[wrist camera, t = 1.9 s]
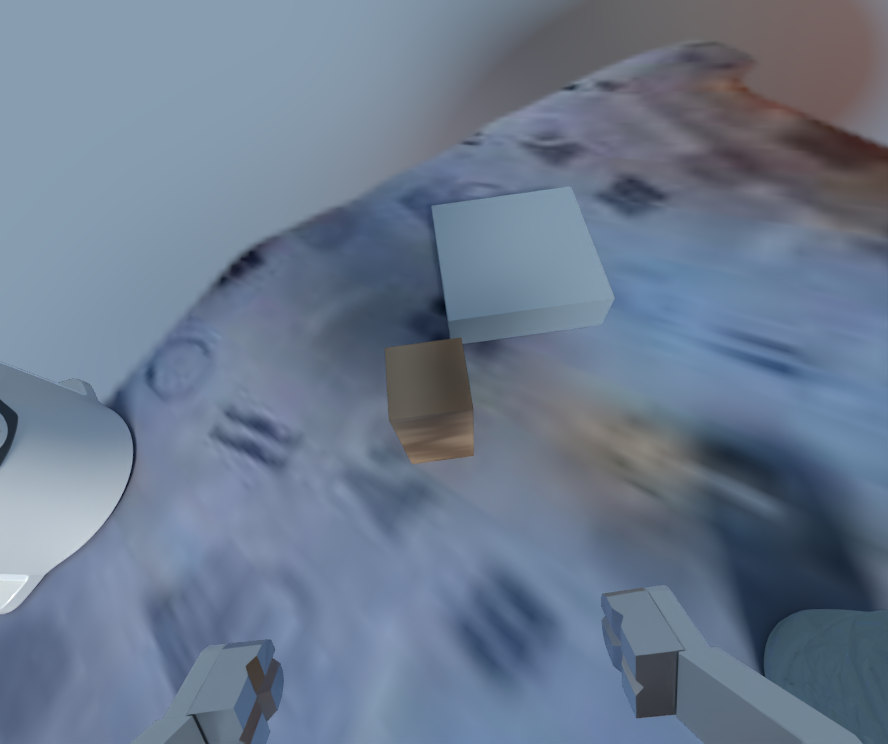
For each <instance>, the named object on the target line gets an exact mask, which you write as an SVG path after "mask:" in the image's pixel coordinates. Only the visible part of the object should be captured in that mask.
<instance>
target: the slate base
mask: <svg viewBox="0 0 888 744" xmlns="http://www.w3.org/2000/svg"><path fill="white" fill-rule="evenodd" d="M431 207H432V216H433V224H434V233H435V240H436V247H437V254H438V260H439V267H440V274H441V281H442V287H443V294H444V301H445V308H446V314H447V321H448V328H449V335H450V339H453V338H460V337H462V343H463V344H467V343H474V342H482V341H489V340H496V339H503V338H511V337H518V336H525V335H533V334H540V333H547V332H554V331H562V330H569V329H576V328H584V327H591V326H598V325H602V323H603V321H604V319H605V317H606V315H607V313H608V311H609V309H610V307H611V305H612V303H613V301H614V299H615V297H614V295H613V292H612V290H611V287H610V285H609V282H608V280H607V277H606V275H605V272H604V269H603V267H602V264H601V262H600V259H599V257H598V254H597V252H596V249H595V247H594V244H593V241H592V239H591V236H590V234H589V231H588V229H587V226H586V224H585V221H584V219H583V216H582V213H581V211H580V208H579V206H578V203H577V201H576V198H575V196H574V193H573V191H572V188H571V186H569V187H562V188H555V189H548V190H541V191H534V192H526V193H519V194H512V195H505V196H498V197H491V198H483V199H476V200H469V201H462V202H455V203H448V204H440V205H433V206H431Z"/></svg>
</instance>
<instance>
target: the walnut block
mask: <svg viewBox="0 0 888 744" xmlns="http://www.w3.org/2000/svg"><path fill="white" fill-rule="evenodd" d="M385 362H386V379H387V396H388V413H389V421H390V423H391V425H392V427H393V429H394V431H395V433H396V434H397V436H398V438H399V440H400V442H401V444H402V446H403V448H404V450H405V451H406V453H407V455H408V457H409V459H410V461H411V463H412V464H416V463H424V462H431V461H439V460H446V459H453V458H461V457H468V456H474V438H473V404H472V398H471V392H470V386H469V380H468V374H467V368H466V362H465V356H464V350H463V343H462V337H460V338H453V339H446V340H438V341H431V342H424V343H416V344H409V345H402V346H395V347H387V348H385Z"/></svg>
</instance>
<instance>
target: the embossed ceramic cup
mask: <svg viewBox="0 0 888 744" xmlns="http://www.w3.org/2000/svg"><path fill="white" fill-rule="evenodd" d="M764 675H765V678H767V679H768V680H770V681H772V682H773V683H775V684H776V685H778V686H779V687H781V688H782V689H784V690H786V691H787V692H789V693H790V694H792V695H793V696H795V697H797V698H798V699H800V700H801V701H803V702H804V703H806V704H807V705H809V706H811V707H812V708H814V709H815V710H817V711H818V712H820V713H822V714H823V715H825V716H826V717H828V718H829V719H831V720H832V721H834V722H836V723H837V724H839V725H840V726H842V727H843V728H845V729H847V730H848V731H850V732H851V733H853V734H854V735H856V737H857V738H858V739H859V740H860V741H861V742H862V744H888V610H877V611H872V612H864V611H856V610H841V609H809V610H801V611H799V612H796V613H793V614H791V615H789V616H788V617H786V618H784V619H783V620H781V621H780V622H779V623H778V624H777V625H776V626H775V628H774V629H773V630H772V632H771V633H770V635H769V637H768V639H767V642H766V646H765V652H764Z"/></svg>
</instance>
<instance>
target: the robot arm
mask: <svg viewBox="0 0 888 744" xmlns="http://www.w3.org/2000/svg"><path fill="white" fill-rule="evenodd" d="M132 460H133V443H132V438H131V434H130V431H129V429H128V427H127V425H126V423H125V422H124V420H123V419H122V418H121V417H120V416H119V415H118V414H117V413H116V412H114V411H113V410H111V409H109V408H108V407H106V406H104V405H103V404H101V403H100V402H99V401H98V399H97V397H96V395H95V392H94V391H93V389H92V387H91V386H90V384H88V383H86V382H83V381H81V380H78V379H69V380H66V381H63V382H59V383H56V382H53V381H50V380H48V379H45V378H43V377H40V376H38V375H35V374H32V373H30V372H27V371H24V370H22V369H19V368H16V367H14V366H11V365H8V364H6V363H3V362H0V614H5V613H8V612H11V611H12V610H14V609H15V608H16V607H18V606H19V605H20V604H21V603H22V602H23V601H24V600H25V599H26V597H27V596H28V595H29V594H30V593H31V592H32V590H33V589H34V588H35V587H36V586H37V584H38V583H39V582H40V581H41V579H42V578H43V577H44V576H45V574H47V573H48V572H49V571H50V570H51V569H52V568H54V567H55V566H56V565H57V564H59V563H60V562H62V561H63V560H64V559H66V558H67V557H69V556H70V555H71V554H73V553H74V552H75V551H77V550H78V549H79V548H80V547H81V546H82V545H84V544H85V543H86V542H87V541H88V540H89V539H90V538H91V537H92V536H93V535H94V534H95V533H96V532H97V531H98V530H99V528H100V527H101V526H102V525H103V524H104V522H105V521H106V520H107V518H108V517H109V516H110V514H111V513H112V511H113V510H114V508H115V506H116V505H117V503H118V501H119V499H120V498H121V496H122V493H123V491H124V489H125V487H126V484H127V481H128V478H129V475H130V472H131V467H132ZM601 607H602V609H603V611H604V613H605V617H604V618H603V620H602V630H603V636H604V640H605V645H606V648H607V651H608V654H609V656H610V659H611V661H612V664H613V666H614V667H615V668H616V669H618V670H619V671H620V672H621V673H622V687H623V689H624V692H625V694H626V696H627V698H628V701H629V703H630V705H631V708H632V710H633V712H634V714H635V717H636V718H646V717H657V716H667V715H676V717H677V718H678V719H679V720H680V721H681V722H682V723H683V724H684V725H685V726H686V727H687V728H688V729H689V730H690V731H691V732H692V733H694V734H695V735H696V736H697V737H698V738H699V739H700V740H701V741H702V742H703V743H704V744H862V742H861V741H860V740H859V739H858V738H857V737H856V735H854V734H853V733H851V732H850V731H848V730H847V729H845V728H843V727H842V726H840V725H839V724H837V723H836V722H834V721H832V720H831V719H829V718H828V717H826V716H825V715H823V714H822V713H820V712H818V711H817V710H815V709H814V708H812V707H811V706H809V705H807V704H806V703H804V702H803V701H801V700H800V699H798V698H797V697H795V696H793V695H792V694H790V693H789V692H787V691H786V690H784V689H782V688H781V687H779V686H778V685H776V684H775V683H773V682H772V681H770V680H768V679H767V678H765V677H764V676H762V675H761V674H759V673H757V672H756V671H754V670H753V669H751V668H750V667H748V666H747V665H745V664H743V663H742V662H740V661H739V660H737V659H736V658H734V657H732V656H731V655H729V654H728V653H726V652H725V651H723V650H722V649H720V648H718V647H710V646H709V644H708V643H707V642H706V640H705V639H704V637H703V636H702V634H701V633H700V632H699V630H698V629H697V627H696V626H695V624H694V623H693V622H692V620H691V619H690V617H689V616H688V614H687V613H686V612H685V610H684V609H683V607H682V606H681V604H680V603H679V602H678V600H677V599H676V597H675V596H674V594H673V593H672V592H671V590H670V589H669V588H668V587H667V586H665V585H661V586H654V587H646V588H638V589H631V590H624V591H617V592H611V593H604V594H602V596H601ZM274 652H275V648H274V645H273V643H272V641H271V640H267V639H266V640H256V641H247V642H237V643H228V644H221V645H212V646H207V647H206V648H205V649H204V650H203V651H202V652H201V653H200V655H199V657H198V658H197V660H196V662H195V664H194V665H193V667H192V669H191V670H190V672H189V674H188V676H187V677H186V679H185V681H184V683H183V684H182V686H181V688H180V689H179V691H178V693H177V695H176V696H175V698H174V700H173V701H172V703H171V705H170V707H169V708H168V710H167V712H166V714H165V715H164V717H163V719H161V720H155V721H154V722H153V723H152V724H151V725H150V726H149V727H148V728H147V729H145V730H144V731H143V732H142V733H141V734H140V735H139V736H138V737H137V738H135V739H134V740H133V741H132V742H131V743H130V744H266V742H267V740H268V737H269V734H270V730H269V726H268V723H267V721H268V720H269V719H270V718H271V717H272V716H273V715H274V713H275V712H276V711H277V710H278V707H279V704H280V701H281V698H282V692H283V684H284V678H283V670H282V667H281V664H280V663H279V662H278V661H276V660H275V659H273V658H272V657H273V654H274Z"/></svg>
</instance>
